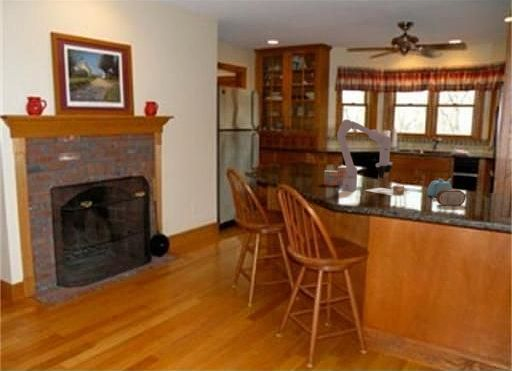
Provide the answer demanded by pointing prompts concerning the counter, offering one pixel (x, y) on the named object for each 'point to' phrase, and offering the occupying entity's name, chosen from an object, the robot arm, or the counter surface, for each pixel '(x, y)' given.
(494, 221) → the counter surface
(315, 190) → the counter surface
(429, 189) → the teapot
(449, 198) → the tin
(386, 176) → the walnut block
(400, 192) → the maple block
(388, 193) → the board
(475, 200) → the counter surface
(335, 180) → the stack of blocks
